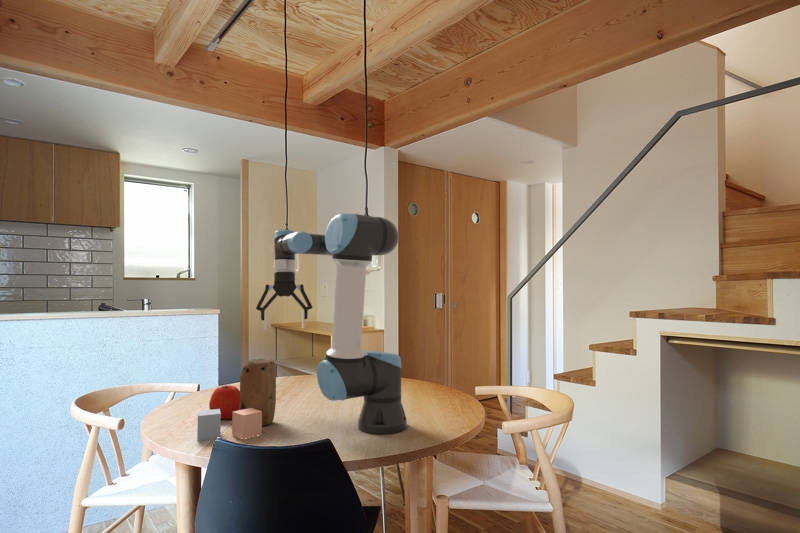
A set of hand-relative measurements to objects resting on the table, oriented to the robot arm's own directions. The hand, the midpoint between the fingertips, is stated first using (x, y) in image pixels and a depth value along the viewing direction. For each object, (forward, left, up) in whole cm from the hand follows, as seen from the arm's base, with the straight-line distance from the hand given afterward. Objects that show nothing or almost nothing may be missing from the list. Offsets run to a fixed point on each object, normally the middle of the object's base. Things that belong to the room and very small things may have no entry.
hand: (284, 328), depth 173 cm
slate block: (-20, +32, -28) cm, 47 cm away
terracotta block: (-26, +23, -28) cm, 45 cm away
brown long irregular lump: (-16, +16, -28) cm, 37 cm away
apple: (-2, +21, -28) cm, 36 cm away
